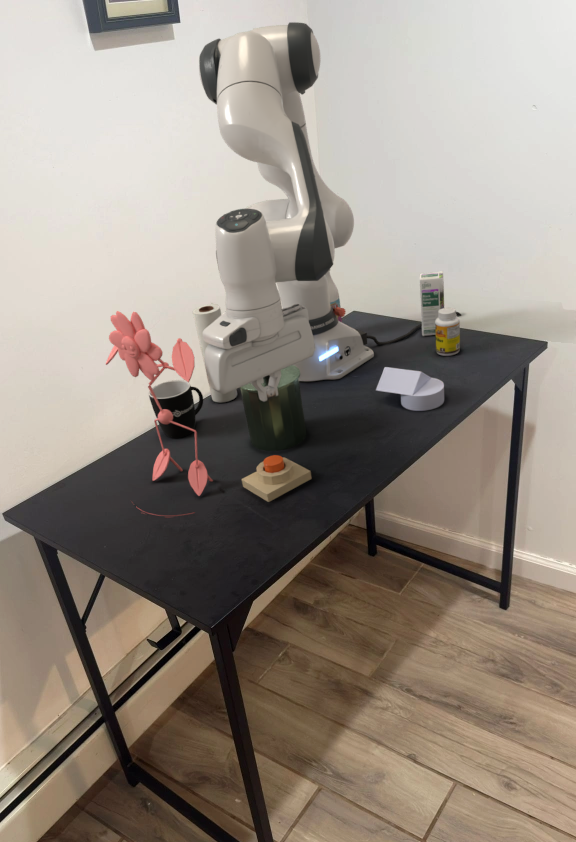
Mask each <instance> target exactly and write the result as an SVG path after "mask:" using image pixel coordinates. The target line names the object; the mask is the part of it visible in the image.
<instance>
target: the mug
mask: <svg viewBox="0 0 576 842" xmlns="http://www.w3.org/2000/svg"><path fill="white" fill-rule="evenodd" d="M152 389H153V392H154V394H155V396H156V398H157V400H158V402H159V404H160V406H161V408H162V410H164V409H167V410H169V411H171V413H172V414H173V420H172V421H173V422H176V423H178V424H181V425H183V426H186V427H189V428H191V429H194V430H195V428H196V416H197V415H198V414H199V412H200V411H201V409H202V408H203V406H204V405H203V404H204V396H203V393H202V391H201V390H200V389H199V388H198V387H196V386H191V384H190V382H187V381H186V380H184V379H173V380H168V381H164V382H161V383H158V384H156V385H155V386H153V387H152ZM193 391H194V392H196V393H197V396H198V404H197V407H196V408H195V401H194V395H193ZM148 397H149V402H150V404H151V407H152V409H153V412H154V415H155V417H156V418H155V419H157V418H158V414H159V412H160V409H159V407H158V405H157V403H156V401H155V399H154V398H153V396H152V394H151V392H150V390H149V392H148ZM157 424H158V425H159V427H160V429H161V430H162V432H163V434H164V435H165V436H166V437H168V438H171V439H180V438H184V437H187V436H189V435H190V434H192V433H193V432H194V431H191V430H188V429H186V428H183V427H181V426H178V425H175V424H173V423H169V424H162V423H161V422H160V421H159V420H158V421H157Z"/></svg>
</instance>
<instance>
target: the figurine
mask: <svg viewBox="0 0 576 842" xmlns="http://www.w3.org/2000/svg"><path fill="white" fill-rule="evenodd" d="M130 315H131V316H130V320H129V318H128V317H127V315H125V314H124V313H122V312H121V311H119V310H116V312H115V314H112V315H111V316H110V322H111V323H112V325H113V327H114V328H115V329H116V330H112V331H111V332H110V333H109V335H108V340H109V342H110V343H111V344H112V345H113V347H112V349H111V351H110V353H109V355H108V357H107V359H106V362H105V365H106V366H108V365H109V363H111V362H112V361H113V359H114V358H115V357H116V355H117V354H118V356H119V358H120V359H121V360H122V361H123V362H125V364H126V368H127V370H128V372H129V373H130V375H131V376H132V377H134V378H137V377H139V375H140V372H141V373H142V374H143V375H144V376H145V377H146V378H147V379H148V380H150V381H149V382H148V386H147V389H148V390H149V391H150V392H151V394H152V396H153V398H154V399H155V401H156V403H157V405H158V407H159V409H160V412H159V414H158V418H155V419H154V421H153V422H154V425H155V429H156V433H157V436H158V439H159V443H160V446H161V451H160V452H159V454H158V455H157V457H156V459H155V460H154V461H155V462H154V464H153V469H152V482H156V481H157V480H159V479H160V478H161V477H163V475H164V473H165V472H166V471H167V470H168V469H167V468H168V466H169V464H170V462H171V463H172V464H173V465H174V466H175V467H176V468H177V470H178V471H180V472H183V470H184V469H183V468H182V467H181V466H180V465H179V464H178V463H177V462H176V460H174V458H173V457H171V450H170V449H169V448H165V447H164V444H163V440H162V437H161V433H160V429H159V426H158V420H159V421H160V422H161V423H162V424H169V423H173V424H175V425H178V426H181V427H183V428H186V429H188V430H191V431H193V432H194V450H195V451H194V452H195V453H194V454H195V460H194V461H192V462H190V465H189V469H188V474H187V480H188V482H189V485H190V488H191V489H193V492H194V493H195V494H196V495H197V496H198V497H200V496H201V495H202V493H203V492H204V491H205V488H206V487H207V484H208V481H209V482H211V483H212V482H214V480H213V478H212V477H211V476H210V475H209V474H208V470H207V467H206V465H205V464H204V461H201V460H200V459H199V458H198V455H199V454H198V432H197V430H196V429H195V428H194V429H191V428H189V427H186V426H183V425H181V424H178V423H176V422H173V421H172V420H173V414H172V413H171V411H169V410H167V409H164V410H162V408H161V406H160V404H159V402H158V400H157V398H156V396H155V394H154V392H153V389H152V388H153V387H152V385H153V384H154V383H155V382H156V380H157V379H158V378H159V377H160V376H161V374H162V373H163V372H164V371H165V370H166V369H168V370H171V371H175V372H176V374H177V375H178V376H179V377H181V378H182V380H183V381H187V382H188V383H190V381H191V379H192V376H193V373H194V370H195V366H196V365H195V364H196V363H195V354H194V351H193V349H192V348H191V347H190V345H189V344H188V343H187V342H186V341H183V339H182V338H181V337H179V338H177V340H176V343H175V344H174V346H172V352H171V362H172V363H171V364H172V366H171V365H170V364H169V363H168V362H167V361H166V362H165V361H164V360H163V359H162V356H163V353H164V351H163V350H162V348H161V347H160V346H159V345H158V344H156V343H154V342H153V341H152V337H151V334H150V331H149V330H148V329H147V328H146V327H145V323H144V321H143V320H142V317H141V316H140V314H138V312H136V311H133V312H131V314H130ZM157 361H158V362H159V363H158V364H157V363H156V362H157ZM160 368H161V369H160ZM131 503H132V504H134V502H133V501H131ZM137 509H138V510H140V511H141V512H142V514H144V515H145V514H149V515H152V516H159V517H164V519H166V518H167V519H169V518H170V517H178V516H181V514H175V515H172V514H171V515H167V516H166V515H163V514H156V513H150V512H147V511H144V510H142V509H140V508H139V507H137ZM195 513H196V512H194V511H193V512H190V513H184V514H182V516H188V515H192V514H195Z"/></svg>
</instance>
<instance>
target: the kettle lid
mask: <svg viewBox="0 0 576 842" xmlns="http://www.w3.org/2000/svg"><path fill="white" fill-rule="evenodd" d="M299 377H300V370H299V369H298V368H297V367H296V366H294V365H291V366H289V367H286V368H284V369H282V370H281V378H280V381H279V384H278V386H277V389H278V390H279V389H282V388H285V387H288V386H290V385H292V384H293V383H295V382H296V381H297V380H298V379H299ZM269 379H270V375H268V376H265V377H263V380H264V383H262V384H261V385H262V386H263V387H266V386H268V383H269ZM240 388H241V389H242V390H245V391H248V392H258V390H256V389H255V387H254V386H253V385H252V384H251V383H249V384H247V385H244V386H242V387H240ZM240 388H239V389H240ZM241 389H240V390H241Z"/></svg>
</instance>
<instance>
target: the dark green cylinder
mask: <svg viewBox="0 0 576 842" xmlns="http://www.w3.org/2000/svg"><path fill="white" fill-rule="evenodd" d="M239 389H240V393H241V398H242V404H243V410H244V414H245V419H246V424H247V430H248V435H249V441H250V443H251V445H252V447H254V448H255V449H257V450H260V451H266V452H278V451H279V452H280V451H284V450H288V449H290V448H293V447H296V446H297V445H299V444H300V443H302V442H304V439H305V438H306V437H307V427H306V420H305V413H304V407H303V399H302V392H301V385H300V381H299V379H298V380H297V381H296V382H295V383H293V384H292V385H290V386H288V387H285V388H282V389H279V390H278V396H276V397H273V398H271V399H269V400H267V401H265V402H264V401H262V400H260V399H259V395H258V392H248V391H245V390H242V389H241V388H239Z"/></svg>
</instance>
